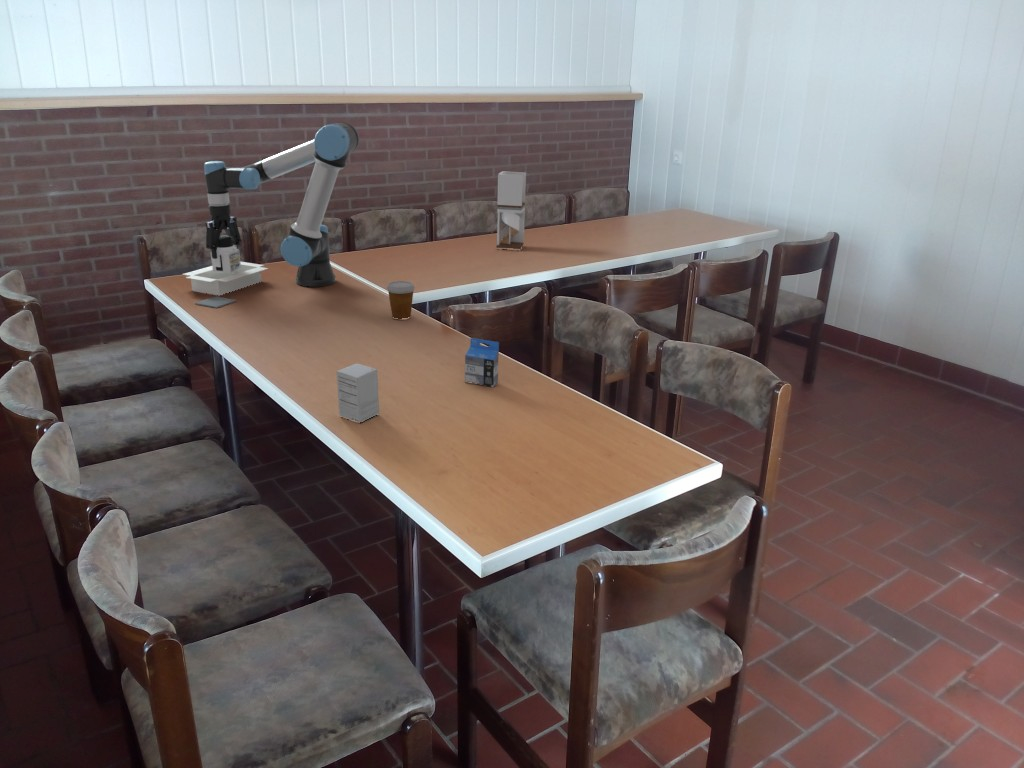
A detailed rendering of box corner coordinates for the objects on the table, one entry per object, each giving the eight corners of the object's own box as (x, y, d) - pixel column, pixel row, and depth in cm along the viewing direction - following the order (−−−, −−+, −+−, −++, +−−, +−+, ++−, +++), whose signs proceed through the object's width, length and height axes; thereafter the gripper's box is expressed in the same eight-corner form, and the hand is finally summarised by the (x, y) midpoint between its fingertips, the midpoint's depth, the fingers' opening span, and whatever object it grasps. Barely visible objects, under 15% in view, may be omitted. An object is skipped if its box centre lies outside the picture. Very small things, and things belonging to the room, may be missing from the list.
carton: (274, 281, 325) (273, 266, 322) (221, 299, 300) (220, 283, 298) (233, 274, 333) (231, 260, 330) (178, 291, 308) (176, 275, 306)
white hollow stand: (496, 249, 388) (498, 174, 375) (500, 245, 398) (502, 171, 385) (520, 251, 387) (522, 175, 373) (523, 246, 396) (526, 172, 383)
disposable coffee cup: (393, 323, 279) (392, 288, 275) (383, 315, 287) (382, 282, 283) (419, 319, 284) (418, 286, 279) (409, 312, 291) (408, 279, 287)
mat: (236, 301, 298) (236, 300, 298) (216, 308, 290) (216, 306, 289) (215, 297, 302) (215, 296, 302) (195, 304, 293) (195, 302, 293)
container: (231, 273, 310) (227, 239, 305) (212, 272, 311) (208, 238, 306) (241, 268, 317) (237, 235, 312) (223, 267, 318) (219, 234, 313)
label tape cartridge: (464, 382, 231) (464, 341, 226) (469, 378, 234) (469, 337, 230) (493, 387, 228) (494, 346, 223) (498, 383, 231) (499, 341, 227)
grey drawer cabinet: (359, 407, 213) (356, 362, 208) (380, 415, 209) (378, 368, 204) (338, 417, 207) (335, 370, 202) (359, 424, 203) (357, 377, 198)
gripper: (231, 199, 315) (238, 257, 323) (189, 207, 297) (198, 269, 305) (247, 201, 312) (253, 259, 321) (205, 209, 294) (213, 271, 303)
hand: (226, 264), depth 313 cm, fingers closed on container, 9 cm apart
